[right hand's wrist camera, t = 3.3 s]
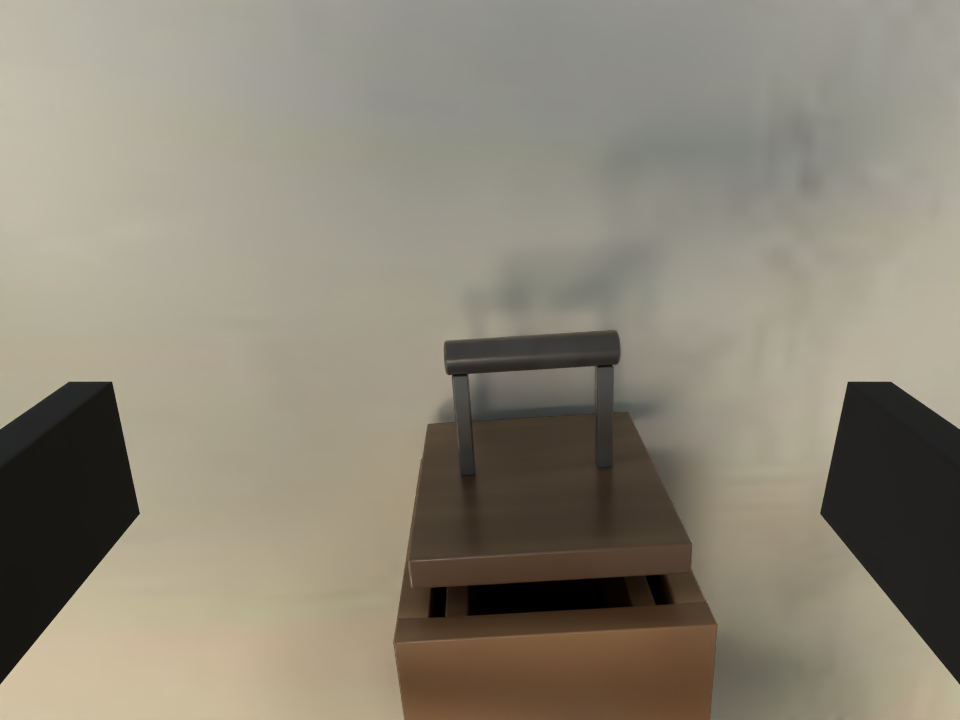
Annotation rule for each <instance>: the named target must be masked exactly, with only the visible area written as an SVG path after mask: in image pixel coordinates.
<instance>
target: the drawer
mask: <svg viewBox="0 0 960 720" xmlns="http://www.w3.org/2000/svg"><path fill="white" fill-rule="evenodd" d="M619 361H620V340H619V335H618V333H617V331H615V330H609V331H593V332H577V333H561V334H545V335H529V336H513V337H498V338H482V339H466V340H450V341H445V343H444V362H445V371H446V374H447V375H452V384H453V396H454V408H455V419H456V422H453V423H436V424H428V425H427V431H426V438H425V445H424V452H423V459H422V465H421V472H420V479H419V486H418V493H417V499H416V506H415V513H414V520H413V527H412V534H411V540H410V547H409V554H408V568H409V577H410V585H411V588H413V589H417V588H435V587H447V592H446V609H445V617H455V616H473V615H491V614H509V613H527V612H545V611H563V610H581V609H598V608H616V607H634V606H652V605H656V604H655V601H654V598H653V595H652V593H651V590H650V587H649V584H648V581H647V579H646V576H647V575H664V574H682V573H690V571H691V555H692V543H691V541H690V539H689V537H688V535H687V533H686V531H685V529H684V526H683V524H682V522H681V520H680V518H679V516H678V514H677V512H676V510H675V508H674V506H673V504H672V502H671V500H670V498H669V496H668V493H667V491H666V489H665V487H664V485H663V483H662V481H661V479H660V477H659V475H658V473H657V471H656V469H655V467H654V465H653V462H652V460H651V458H650V456H649V454H648V452H647V450H646V448H645V446H644V444H643V442H642V440H641V438H640V436H639V434H638V432H637V429H636V427H635V425H634V423H633V421H632V419H631V417H630V415H629V413H628V412H617V413H613V366H612V365H616V364H618V363H619ZM586 366H595V414H584V415H568V416H551V417H535V418H518V419H502V420H485V421H472V416H471V403H470V390H469V377H468V374H474V373H490V372H506V371H522V370H538V369H554V368H570V367H586Z"/></svg>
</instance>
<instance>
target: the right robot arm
mask: <svg viewBox="0 0 960 720" xmlns="http://www.w3.org/2000/svg"><path fill="white" fill-rule="evenodd" d="M139 514H140V513H139V508H138V503H137V498H136V494H135V489H134V484H133V479H132V475H131V470H130V465H129V460H128V455H127V451H126V446H125V441H124V436H123V432H122V427H121V422H120V417H119V413H118V408H117V403H116V398H115V393H114V389H113V384H112V382H68V383H67V384H65V385H64V386H62V387H61V388H59V389H58V390H57V391H55V392H54V393H52V394H51V395H49V396H48V397H46V398H45V399H44V400H42V401H41V402H39V403H38V404H36V405H35V406H34V407H32V408H31V409H29V410H28V411H26V412H25V413H23V414H22V415H21V416H19V417H18V418H16V419H15V420H13V421H12V422H10V423H9V424H8V425H6V426H5V427H3V428H2V429H0V684H1V683H2V681H3V680H4V679H5V678H6V677H7V675H8V674H9V673H10V672H11V670H12V669H13V668H14V667H15V666H16V664H17V663H18V662H19V661H20V659H21V658H22V657H23V656H24V655H25V653H26V652H27V651H28V650H29V648H30V647H31V646H32V645H33V644H34V642H35V641H36V640H37V639H38V637H39V636H40V635H41V634H42V633H43V631H44V630H45V629H46V628H47V626H48V625H49V624H50V623H51V622H52V620H53V619H54V618H55V617H56V615H57V614H58V613H59V612H60V611H61V609H62V608H63V607H64V606H65V604H66V603H67V602H68V601H69V600H70V598H71V597H72V596H73V595H74V593H75V592H76V591H77V590H78V589H79V587H80V586H81V585H82V584H83V582H84V581H85V580H86V579H87V577H88V576H89V575H90V574H91V573H92V571H93V570H94V569H95V568H96V566H97V565H98V564H99V563H100V562H101V560H102V559H103V558H104V557H105V555H106V554H107V553H108V552H109V551H110V549H111V548H112V547H113V546H114V544H115V543H116V542H117V541H118V540H119V538H120V537H121V536H122V535H123V533H124V532H125V531H126V530H127V529H128V527H129V526H130V525H131V524H132V522H133V521H134V520H135V519H136V518H137V516H138V515H139ZM820 514H821V515H822V516H823V518H824V519H825V520H826V521H827V522H828V524H829V525H830V526H831V527H832V529H833V530H834V531H835V532H836V533H837V535H838V536H839V537H840V538H841V540H842V541H843V542H844V543H845V544H846V546H847V547H848V548H849V549H850V551H851V552H852V553H853V554H854V555H855V557H856V558H857V559H858V560H859V562H860V563H861V564H862V565H863V566H864V568H865V569H866V570H867V571H868V573H869V574H870V575H871V576H872V577H873V579H874V580H875V581H876V582H877V584H878V585H879V586H880V587H881V589H882V590H883V591H884V592H885V593H886V595H887V596H888V597H889V598H890V600H891V601H892V602H893V603H894V604H895V606H896V607H897V608H898V609H899V611H900V612H901V613H902V614H903V615H904V617H905V618H906V619H907V620H908V622H909V623H910V624H911V625H912V626H913V628H914V629H915V630H916V631H917V633H918V634H919V635H920V636H921V637H922V639H923V640H924V641H925V642H926V644H927V645H928V646H929V647H930V648H931V650H932V651H933V652H934V653H935V655H936V656H937V657H938V658H939V659H940V661H941V662H942V663H943V664H944V666H945V667H946V668H947V669H948V670H949V672H950V673H951V674H952V675H953V677H954V678H955V679H956V680H957V682H958V683H959V684H960V429H958V428H957V427H955V426H954V425H952V424H951V423H950V422H948V421H947V420H945V419H944V418H942V417H941V416H939V415H938V414H937V413H935V412H934V411H932V410H931V409H929V408H928V407H926V406H925V405H924V404H922V403H921V402H919V401H918V400H916V399H915V398H913V397H912V396H911V395H909V394H908V393H906V392H905V391H903V390H902V389H901V388H899V387H898V386H896V385H895V384H893V383H892V382H848V384H847V389H846V393H845V398H844V403H843V408H842V413H841V417H840V422H839V427H838V432H837V436H836V441H835V446H834V451H833V455H832V460H831V465H830V470H829V475H828V479H827V484H826V489H825V494H824V498H823V503H822V508H821V513H820Z"/></svg>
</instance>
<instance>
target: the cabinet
mask: <svg viewBox="0 0 960 720" xmlns="http://www.w3.org/2000/svg"><path fill="white" fill-rule="evenodd" d="M421 465H422V460H421V464H420V470H419V476H418V483H417V490H416V496H415V503H414V510H413V516H412V523H411V530H410V536H409V543H408V550H407V556H406V563H405V570H404V576H403V583H402V590H401V596H400V603H399V609H398V616H397V623H396V630H395V636H394V650H395V657H396V664H397V671H398V678H399V686H400V693H401V700H402V707H403V714H404V720H710V713H711V700H712V687H713V674H714V660H715V647H716V634H717V624H716V621H715V619H714V617H713V615H712V613H711V610H710V608H709V606H708V604H707V603H706V601H705V598H704V596H703V594H702V592H701V590H700V587H699V585H698V583H697V581H696V579H695V576H694V574H693V572H692V570H691V571H690V573H682V574H664V575H647V576H646V579H647V581H648V584H649V587H650V590H651V593H652V595H653V598H654V601H655V604H656V605H652V606H634V607H616V608H598V609H581V610H563V611H545V612H527V613H509V614H491V615H473V616H455V617H445V609H446V592H447V587H435V588H417V589H413V588H411V585H410V577H409V568H408V554H409V547H410V540H411V534H412V527H413V520H414V513H415V506H416V499H417V493H418V486H419V479H420V472H421Z"/></svg>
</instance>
